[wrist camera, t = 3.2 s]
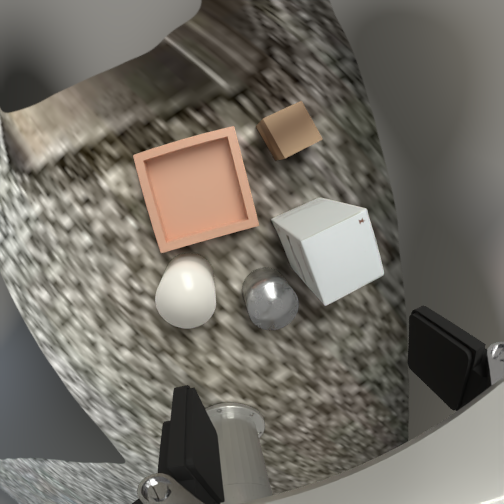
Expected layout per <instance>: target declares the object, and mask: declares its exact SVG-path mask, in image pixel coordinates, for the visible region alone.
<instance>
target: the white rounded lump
mask: <svg viewBox="0 0 504 504" xmlns="http://www.w3.org/2000/svg"><path fill="white" fill-rule="evenodd" d="M155 302H156V307H157V310H158V312H159V313H160V315H161V316H162V318H163V319H164V320H166V321H167V322H168V323H170V324H171V325H173V326H176V327H179V328H187V329H188V328H195V327H198V326H200V325H202V324H204V323H205V322H207V321H208V320H209V319H210V318H211V316H212V315H213V313H214V310H215V306H216V295H215V282H214V272H213V269H212V266H211V264H210V263H209V262H208V261H207V260H206V259H205V258H204V257H203V256H201V255H199V254H196V253H182V254H179V255H177V256H175V257H174V258H173V259H172V260H171V261H170V262H169V264H168V265H167V268H166V270H165V272H164V275H163V277H162V279H161V282H160V284H159V287H158V289H157V292H156V297H155Z"/></svg>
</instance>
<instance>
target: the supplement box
mask: <svg viewBox="0 0 504 504" xmlns="http://www.w3.org/2000/svg"><path fill="white" fill-rule="evenodd" d="M271 221H272V223H273V225H274V227H275V229H276V231H277V233H278V236H279V238H280V240H281V243H282V245H283V248H284V250H285V253H286V255H287V258H288V260H289V263H290V266H291V268H292V269H293V270H294V271H295V272H296V274H297V275H298V276H299V277H300V278H301V279H302V280H303V282H304V283H305V284H306V285H307V286H308V287H309V288H310V290H311V291H312V292H313V293H314V294H315V295H316V296H317V297H318V299H319V300H320V301H321V302H322V303H323V304H324V306H326V305H328V304H330V303H332V302H334V301H336V300H338V299H340V298H342V297H344V296H345V295H347V294H349V293H351V292H353V291H355V290H357V289H358V288H360V287H362V286H364V285H366V284H368V283H370V282H372V281H374V280H376V279H377V278H379V277H381V276H383V275H384V270H383V265H382V262H381V258H380V254H379V250H378V246H377V242H376V239H375V236H374V232H373V229H372V225H371V222H370V219H369V215H368V211H367V209H366V208H362V207H358V206H354V205H350V204H346V203H342V202H337V201H333V200H329V199H325V198H320V197H319V198H317V199H314V200H312V201H310V202H308V203H305V204H303V205H301V206H299V207H296V208H294V209H292V210H290V211H287V212H285V213H283V214H281V215H278V216H276V217H274V218H272V219H271Z"/></svg>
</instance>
